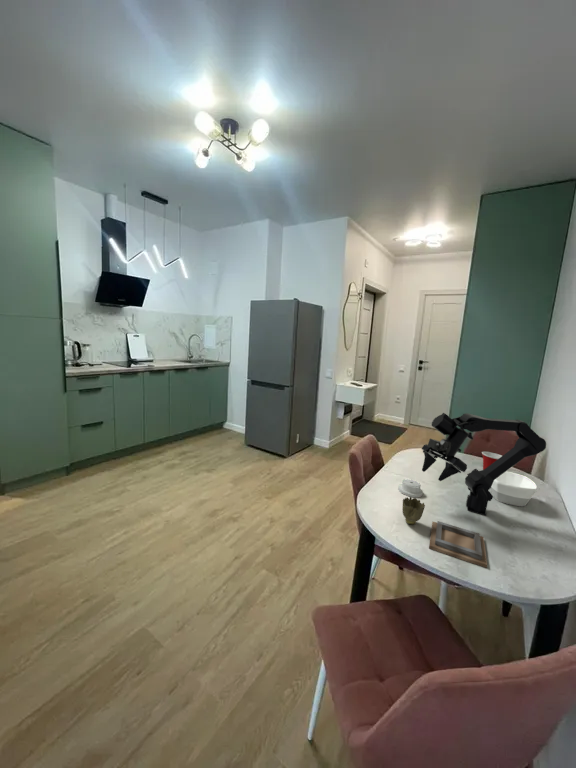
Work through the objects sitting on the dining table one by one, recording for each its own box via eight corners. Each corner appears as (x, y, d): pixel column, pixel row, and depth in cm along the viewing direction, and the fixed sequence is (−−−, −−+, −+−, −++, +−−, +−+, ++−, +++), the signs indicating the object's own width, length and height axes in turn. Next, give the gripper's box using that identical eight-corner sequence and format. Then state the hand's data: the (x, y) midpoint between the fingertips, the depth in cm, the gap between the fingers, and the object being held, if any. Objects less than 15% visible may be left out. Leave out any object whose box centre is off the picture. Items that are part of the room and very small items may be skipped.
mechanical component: (394, 491, 143) (418, 500, 137) (396, 482, 142) (420, 490, 136) (402, 484, 151) (425, 492, 145) (403, 475, 150) (426, 482, 144)
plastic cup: (504, 478, 168) (509, 455, 166) (500, 484, 160) (505, 460, 158) (480, 470, 175) (484, 448, 173) (475, 476, 167) (479, 453, 165)
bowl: (539, 514, 135) (544, 492, 133) (489, 503, 140) (493, 482, 138) (524, 494, 151) (528, 475, 150) (480, 485, 157) (484, 466, 155)
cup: (395, 518, 122) (398, 497, 120) (411, 515, 124) (414, 495, 123) (409, 530, 115) (412, 508, 114) (426, 527, 118) (429, 506, 116)
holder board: (482, 539, 113) (484, 532, 113) (486, 568, 99) (488, 560, 99) (432, 523, 120) (433, 517, 120) (428, 548, 106) (430, 541, 106)
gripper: (424, 425, 135) (402, 456, 134) (459, 437, 117) (434, 474, 117) (441, 439, 139) (420, 470, 138) (478, 454, 121) (454, 490, 120)
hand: (430, 475), depth 128 cm, fingers open, 9 cm apart
